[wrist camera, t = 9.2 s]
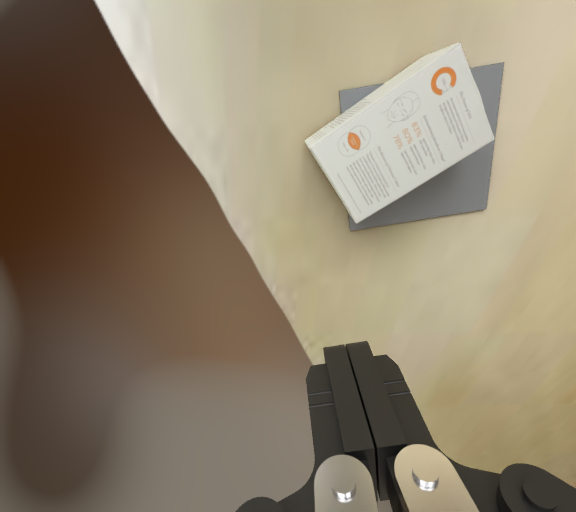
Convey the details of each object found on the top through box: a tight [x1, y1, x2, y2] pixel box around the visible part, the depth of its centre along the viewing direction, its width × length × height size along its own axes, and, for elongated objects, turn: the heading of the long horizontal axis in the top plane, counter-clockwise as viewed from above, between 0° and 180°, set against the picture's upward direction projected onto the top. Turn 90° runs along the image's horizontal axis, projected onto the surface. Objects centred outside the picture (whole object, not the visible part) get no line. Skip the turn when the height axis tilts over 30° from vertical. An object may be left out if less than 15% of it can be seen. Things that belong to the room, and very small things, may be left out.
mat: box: [339, 62, 504, 231], centre depth 32 cm, size 14×15×1 cm
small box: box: [304, 43, 495, 224], centre depth 28 cm, size 8×6×13 cm
